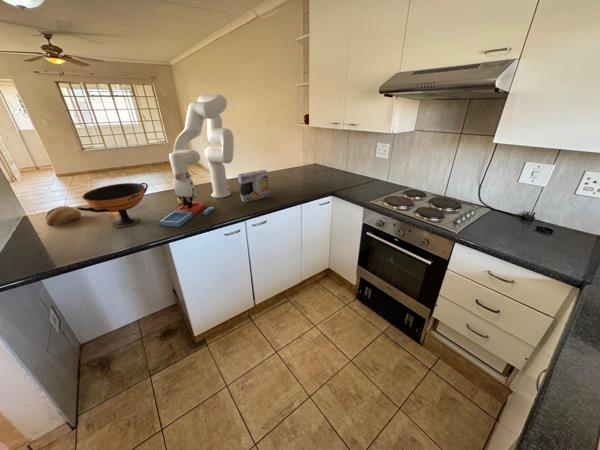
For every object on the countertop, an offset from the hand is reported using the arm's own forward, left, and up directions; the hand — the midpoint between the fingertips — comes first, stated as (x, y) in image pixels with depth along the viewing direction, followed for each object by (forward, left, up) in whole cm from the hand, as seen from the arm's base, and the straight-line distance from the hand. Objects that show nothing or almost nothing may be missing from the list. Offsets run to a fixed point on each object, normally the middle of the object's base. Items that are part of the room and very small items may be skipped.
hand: (188, 207), depth 141 cm
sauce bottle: (-11, -10, -3) cm, 15 cm away
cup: (+18, -25, -3) cm, 31 cm away
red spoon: (-2, 0, 0) cm, 2 cm away
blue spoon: (-2, +11, -3) cm, 11 cm away
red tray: (-2, 0, -3) cm, 4 cm away
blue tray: (+12, 0, -3) cm, 12 cm away
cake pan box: (-25, +31, -3) cm, 40 cm away
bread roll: (+22, -58, -3) cm, 62 cm away
